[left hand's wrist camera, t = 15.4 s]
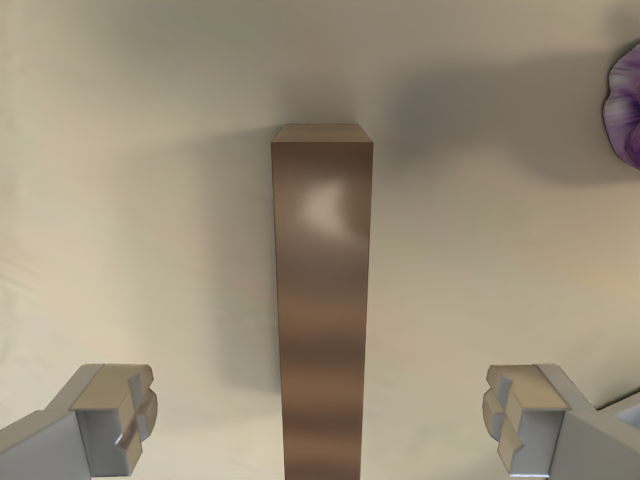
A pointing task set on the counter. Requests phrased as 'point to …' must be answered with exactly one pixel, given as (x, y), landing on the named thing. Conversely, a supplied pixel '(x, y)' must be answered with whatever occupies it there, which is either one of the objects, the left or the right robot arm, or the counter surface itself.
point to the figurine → (625, 108)
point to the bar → (322, 293)
